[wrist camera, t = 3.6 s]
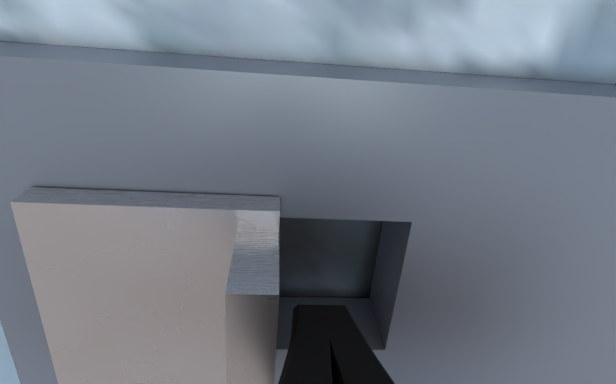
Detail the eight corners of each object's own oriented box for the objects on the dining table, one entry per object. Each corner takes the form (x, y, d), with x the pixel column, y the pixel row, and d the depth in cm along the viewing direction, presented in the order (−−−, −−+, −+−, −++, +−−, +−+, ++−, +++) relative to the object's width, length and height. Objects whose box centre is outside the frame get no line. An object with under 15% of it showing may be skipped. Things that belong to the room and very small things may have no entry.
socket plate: (578, 398, 18) (620, 453, 16) (79, 403, 16) (47, 466, 14) (737, 93, 13) (838, 112, 10) (-8, 40, 11) (-87, 49, 8)
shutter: (271, 367, 13) (269, 474, 10) (72, 367, 12) (7, 480, 9) (279, 196, 10) (280, 272, 7) (30, 187, 10) (-77, 265, 7)
